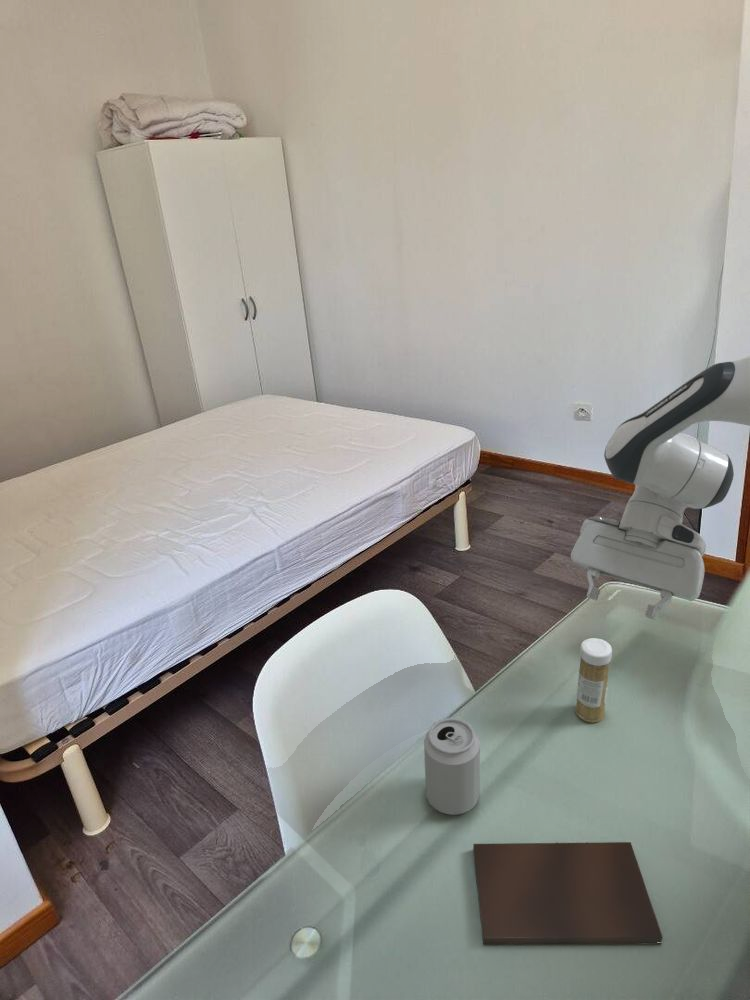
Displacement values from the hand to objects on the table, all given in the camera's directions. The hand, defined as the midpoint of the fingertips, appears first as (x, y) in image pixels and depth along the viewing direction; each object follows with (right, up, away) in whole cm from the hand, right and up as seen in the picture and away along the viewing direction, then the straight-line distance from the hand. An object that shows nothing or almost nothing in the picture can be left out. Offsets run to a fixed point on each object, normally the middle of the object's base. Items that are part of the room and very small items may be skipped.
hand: (620, 607), depth 109 cm
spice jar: (-5, -17, 0) cm, 18 cm away
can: (-28, -25, -12) cm, 39 cm away
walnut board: (-16, -31, -26) cm, 43 cm away
